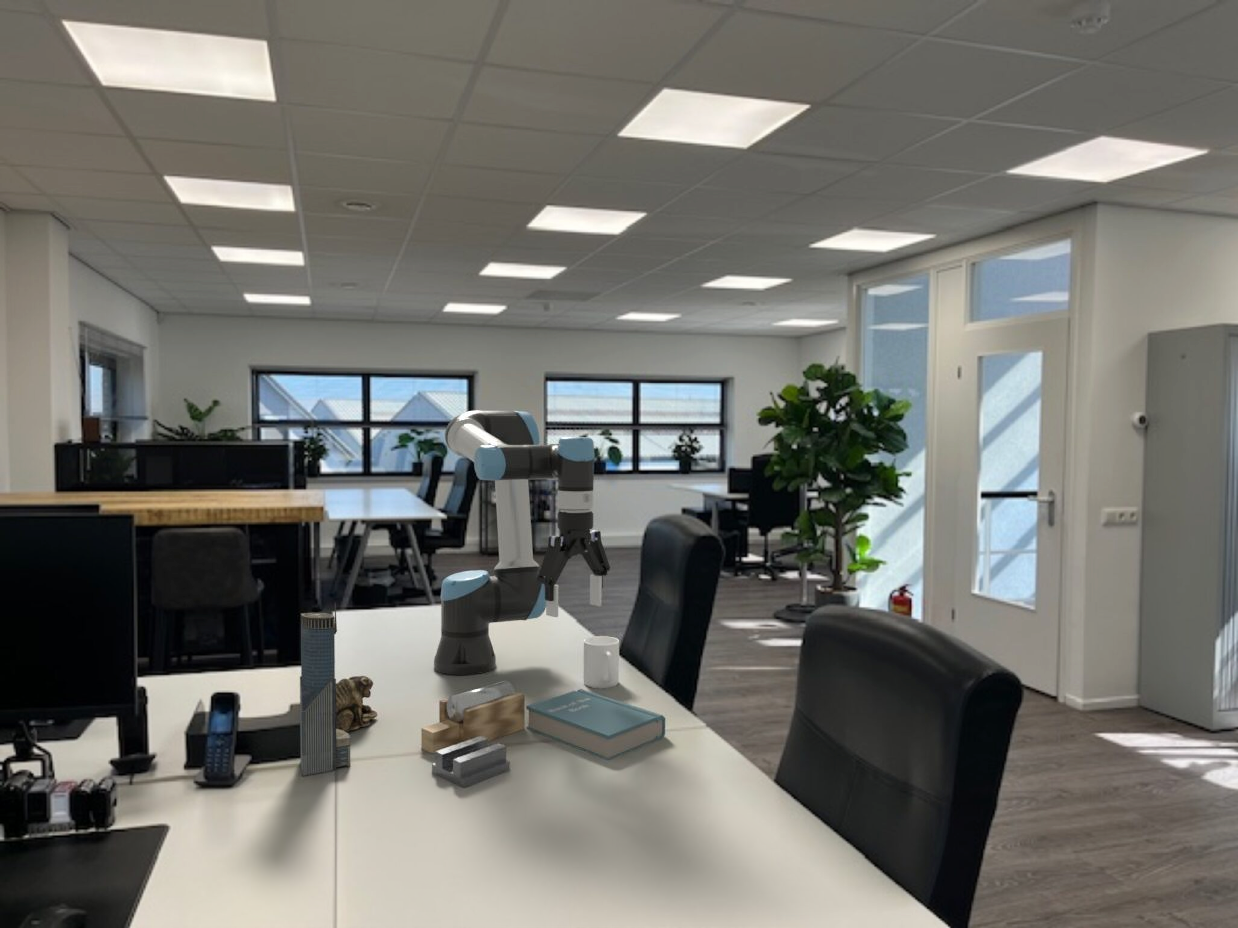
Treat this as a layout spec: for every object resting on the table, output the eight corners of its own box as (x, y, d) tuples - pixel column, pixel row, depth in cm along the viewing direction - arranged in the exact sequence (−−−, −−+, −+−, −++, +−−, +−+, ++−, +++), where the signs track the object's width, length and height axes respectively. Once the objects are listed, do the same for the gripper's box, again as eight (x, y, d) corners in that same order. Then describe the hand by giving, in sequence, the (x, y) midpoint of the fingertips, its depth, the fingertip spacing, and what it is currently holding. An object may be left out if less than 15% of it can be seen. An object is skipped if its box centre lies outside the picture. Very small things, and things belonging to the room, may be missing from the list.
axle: (498, 700, 172) (500, 677, 171) (514, 709, 169) (516, 685, 168) (445, 716, 162) (447, 691, 162) (461, 726, 159) (463, 700, 158)
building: (360, 760, 152) (359, 595, 150) (327, 780, 143) (325, 605, 142) (313, 752, 155) (311, 591, 153) (278, 771, 146) (276, 600, 145)
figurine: (388, 723, 170) (387, 674, 170) (321, 742, 160) (321, 690, 160) (372, 715, 175) (371, 668, 174) (306, 734, 164) (305, 683, 164)
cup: (612, 676, 203) (613, 634, 203) (628, 691, 192) (628, 647, 191) (579, 679, 201) (579, 637, 200) (593, 695, 189) (593, 650, 189)
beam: (495, 717, 174) (495, 684, 174) (524, 728, 168) (524, 694, 168) (413, 744, 159) (413, 708, 159) (441, 757, 153) (441, 719, 153)
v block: (463, 787, 141) (463, 764, 141) (431, 772, 147) (431, 749, 147) (509, 769, 148) (509, 747, 148) (477, 755, 154) (477, 734, 154)
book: (526, 730, 168) (526, 705, 168) (583, 710, 180) (583, 687, 180) (608, 762, 153) (608, 735, 153) (665, 738, 165) (665, 713, 165)
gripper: (546, 516, 165) (545, 623, 166) (626, 507, 184) (625, 603, 185) (519, 513, 170) (519, 617, 171) (600, 504, 189) (599, 598, 190)
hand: (574, 610), depth 178 cm, fingers open, 13 cm apart
